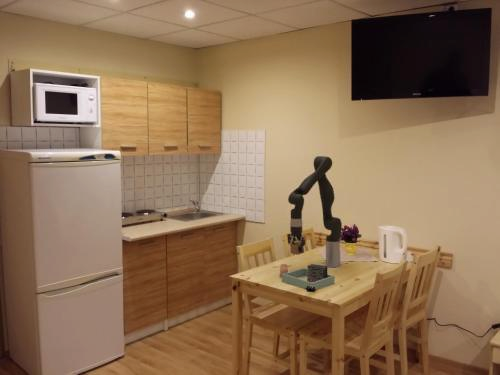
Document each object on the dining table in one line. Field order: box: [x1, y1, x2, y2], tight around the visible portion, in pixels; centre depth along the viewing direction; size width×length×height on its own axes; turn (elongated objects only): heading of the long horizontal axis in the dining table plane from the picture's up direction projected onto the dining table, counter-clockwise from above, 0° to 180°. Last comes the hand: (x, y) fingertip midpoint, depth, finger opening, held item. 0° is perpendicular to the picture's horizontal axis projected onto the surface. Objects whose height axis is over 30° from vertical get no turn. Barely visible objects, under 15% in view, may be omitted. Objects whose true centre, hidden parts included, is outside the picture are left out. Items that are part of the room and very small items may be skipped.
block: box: [289, 241, 305, 255], centre depth 294 cm, size 6×6×6 cm
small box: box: [307, 263, 328, 281], centre depth 275 cm, size 11×6×10 cm, turn 59°
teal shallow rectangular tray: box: [281, 267, 336, 291], centre depth 277 cm, size 20×24×4 cm
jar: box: [279, 263, 289, 278], centre depth 289 cm, size 5×5×8 cm
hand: (296, 251), depth 293 cm, fingers closed on block, 6 cm apart
